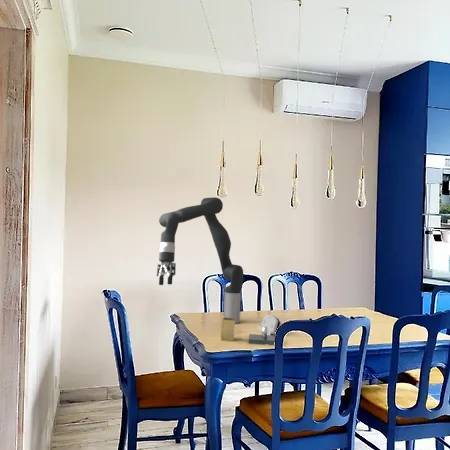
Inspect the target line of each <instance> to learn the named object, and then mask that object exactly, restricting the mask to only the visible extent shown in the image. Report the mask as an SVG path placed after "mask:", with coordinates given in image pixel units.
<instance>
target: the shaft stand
mask: <svg viewBox="0 0 450 450" xmlns="http://www.w3.org/2000/svg"><path fill="white" fill-rule="evenodd" d="M267 330H268V327H262V331H261V334H255V333H253V334H252V333H249V336H248V344H249V345H251V344H253V345H265V344H269V345H268V346H275V345H274V342H275V336H276V335H273V334H271V335H267Z"/></svg>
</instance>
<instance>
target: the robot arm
mask: <svg viewBox="0 0 450 450" xmlns="http://www.w3.org/2000/svg"><path fill="white" fill-rule="evenodd" d="M223 206H224V203H223V201H222V199H221V198H219V197H215V196H214V197H204V198H202V200H201V202H200V204H197V205H191V206H186V207H182V208H179V209H177V210H174V211H170V212H166V213H163V214H161V215H160V216H159V220H158V222H159V225H160V226H161V227H163V228H165V230H163V231H162V232H161V235H160V245H159V254H158V255H159V257H158V261H159V262H160V263H158V264H157V269H156V277H158V285H159V286H163V285H164V280H165V278H164V277H165V275H167V285H169V286H170V285H173V277H174V276H176V271H177V270H176V262H175V254H176V253H175V252H176V244H175V243H176V233H177V230H178V227H179V224H181V223H185V222H188V221H191V220H194V219H196V218H200V217H204V220H205V221H206V223H207V226H208V229H209V231H210V234H211V238H212V240H213V241H212V242H213V243H214V246H215V250H216V252H217V256H218V260H219V262H220V267H221V272H222V275H223V277H224V279H226V280H228V281H230V284H229V285H227V286H225V288H224V303H223V304H224V307H223V317H224V318H235V324H238V323H240V317H241V297H242V296H241V293H242V289H243V282H244V281H243V280H244V268H243V267H242V266H241V265H239V264H233V263H232V260H231V257H230V251H231V246H232V241H231V237H230V236H229V235H230V234H229V233H228V230H227V229H226V228H225V227H224V226H223V224H222V223H221V222H220V221H219V219H218V217H217V214H219V213H221V212H222V210H223Z"/></svg>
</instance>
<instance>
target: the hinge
mask: <svg viewBox="0 0 450 450" xmlns="http://www.w3.org/2000/svg"><path fill="white" fill-rule="evenodd" d="M281 324H282V325H283V322H282V320H281V319H280V318H279V317H277V316H274V315H271V314H266V315H264V317H263V320H262V321H261V323H260V325H258V327H257V330H258V329H259V331H260V332H262V327H268V330H267V334H268V335H275V332H276V330H277V328H278V327H279V326H280V325H281ZM282 325H281V326H282Z"/></svg>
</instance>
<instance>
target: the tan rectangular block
mask: <svg viewBox="0 0 450 450" xmlns="http://www.w3.org/2000/svg"><path fill="white" fill-rule="evenodd" d="M235 324H236V323H235V318H224V316H223V317H222V318H221V328H220V330H221V332H220V334H221V335H220V341H223V342H234V340H235Z"/></svg>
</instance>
